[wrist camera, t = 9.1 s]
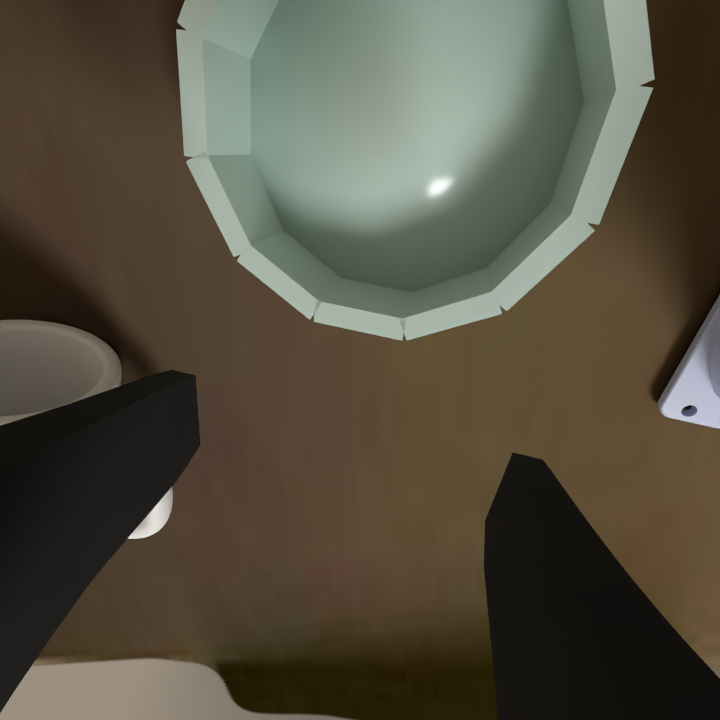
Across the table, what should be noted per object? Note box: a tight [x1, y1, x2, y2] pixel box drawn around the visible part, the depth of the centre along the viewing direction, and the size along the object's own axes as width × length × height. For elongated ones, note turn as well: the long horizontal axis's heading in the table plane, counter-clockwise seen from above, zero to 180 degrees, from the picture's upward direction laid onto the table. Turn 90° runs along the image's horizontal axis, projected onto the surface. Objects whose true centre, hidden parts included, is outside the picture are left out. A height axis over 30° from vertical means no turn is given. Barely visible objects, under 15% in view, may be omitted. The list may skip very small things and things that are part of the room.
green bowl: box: [176, 0, 655, 340], centre depth 13 cm, size 13×13×4 cm
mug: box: [0, 320, 173, 539], centre depth 21 cm, size 12×10×8 cm
